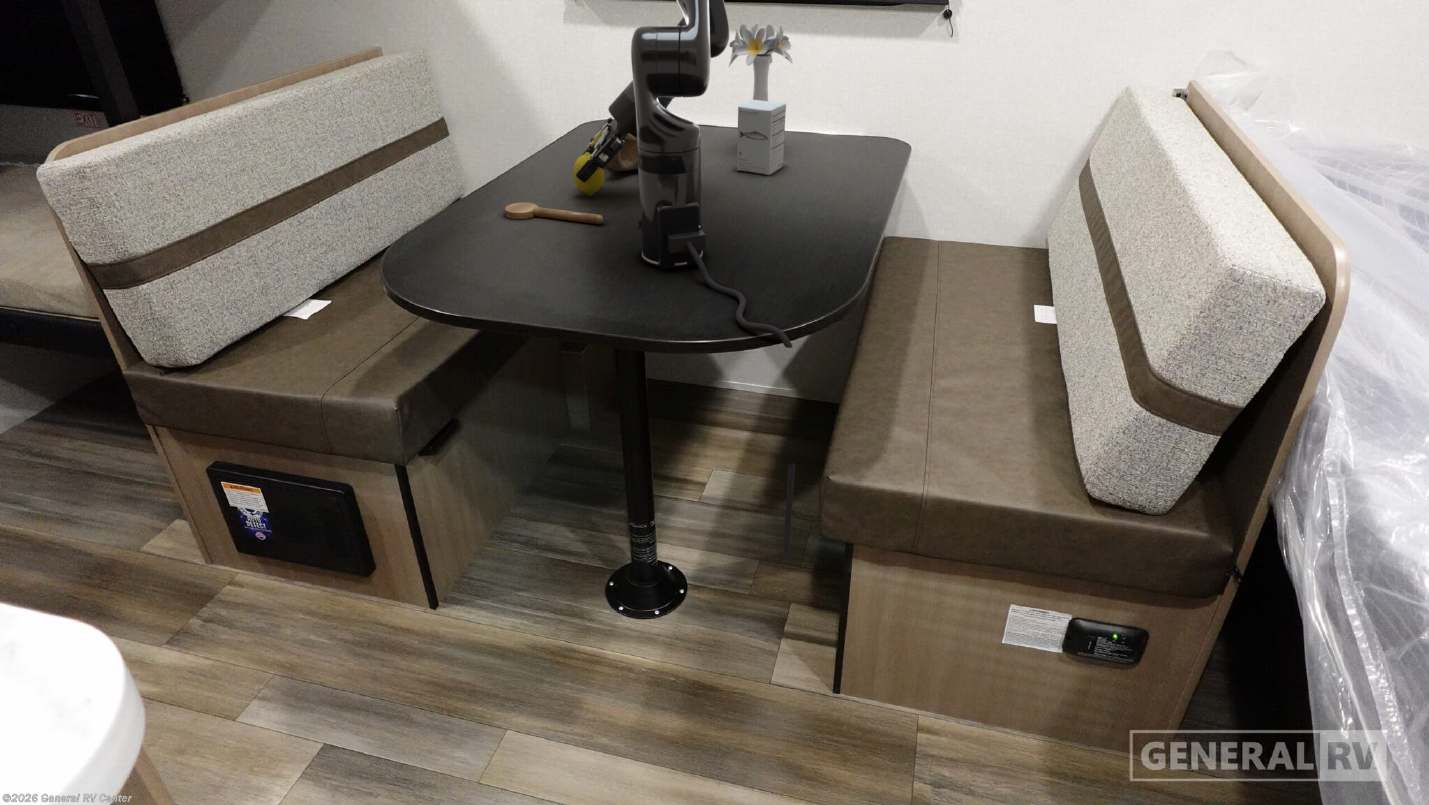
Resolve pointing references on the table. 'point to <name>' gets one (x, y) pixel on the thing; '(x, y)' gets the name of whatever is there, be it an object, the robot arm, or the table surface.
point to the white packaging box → (760, 136)
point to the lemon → (593, 182)
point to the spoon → (549, 213)
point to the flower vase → (760, 53)
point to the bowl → (626, 156)
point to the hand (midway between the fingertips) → (579, 172)
